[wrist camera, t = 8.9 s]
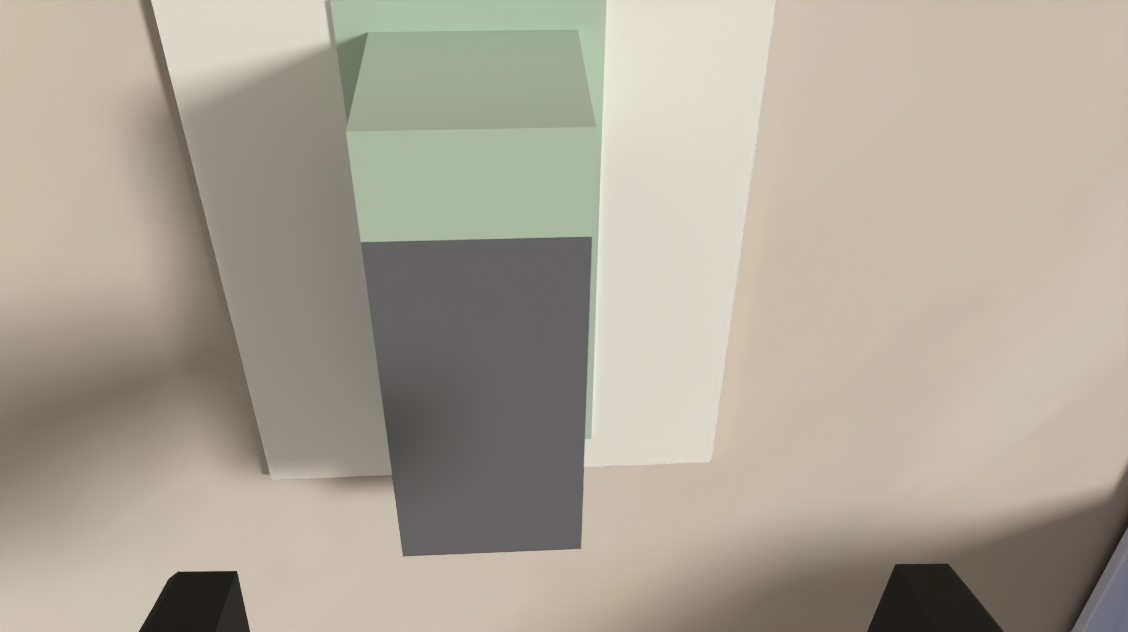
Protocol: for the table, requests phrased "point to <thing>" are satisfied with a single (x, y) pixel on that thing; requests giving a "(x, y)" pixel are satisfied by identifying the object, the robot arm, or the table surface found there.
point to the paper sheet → (331, 232)
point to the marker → (478, 279)
